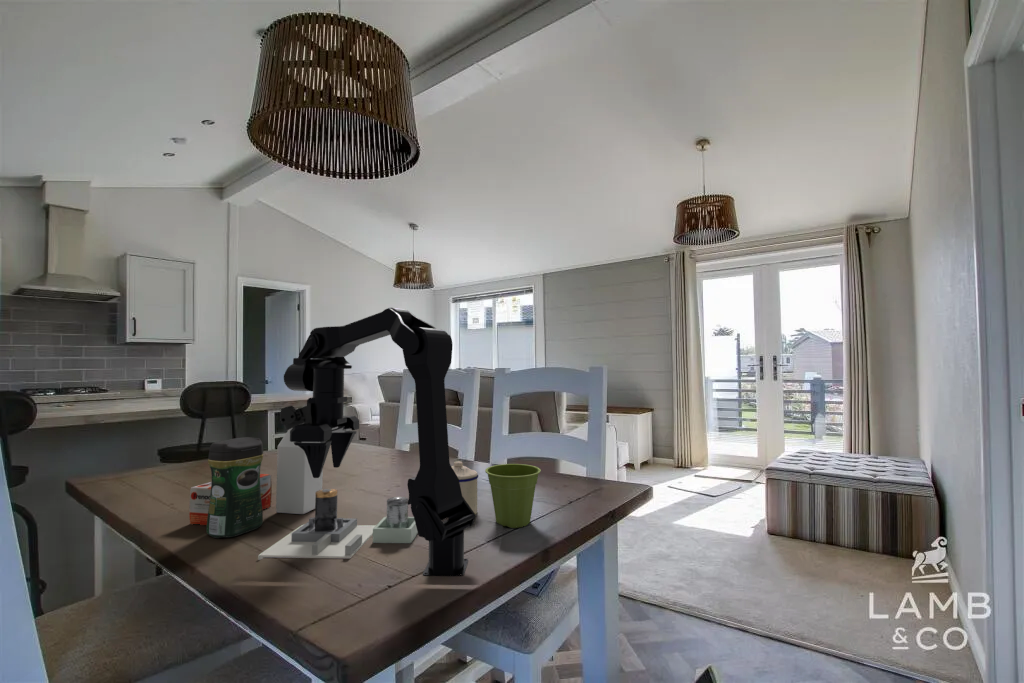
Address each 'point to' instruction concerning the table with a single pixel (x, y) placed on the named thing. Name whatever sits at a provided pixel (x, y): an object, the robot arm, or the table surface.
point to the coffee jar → (235, 487)
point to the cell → (326, 510)
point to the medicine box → (202, 499)
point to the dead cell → (397, 512)
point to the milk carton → (294, 479)
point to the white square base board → (321, 542)
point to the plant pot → (513, 492)
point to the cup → (394, 532)
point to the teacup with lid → (467, 484)
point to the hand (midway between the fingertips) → (326, 472)
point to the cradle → (312, 529)
